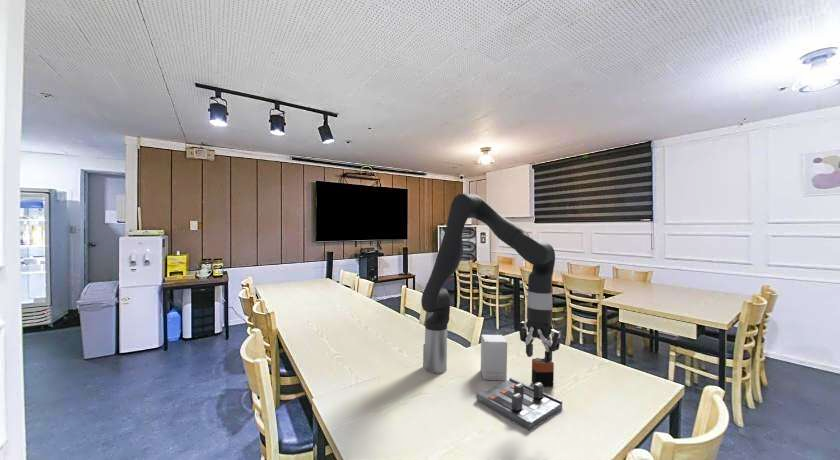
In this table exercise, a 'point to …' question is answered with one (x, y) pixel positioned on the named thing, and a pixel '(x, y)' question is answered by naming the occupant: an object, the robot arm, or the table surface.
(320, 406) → the table surface
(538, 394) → the breaker
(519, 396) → the breaker
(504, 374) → the supplement box
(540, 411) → the panel
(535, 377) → the battery
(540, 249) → the robot arm
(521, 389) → the breaker
